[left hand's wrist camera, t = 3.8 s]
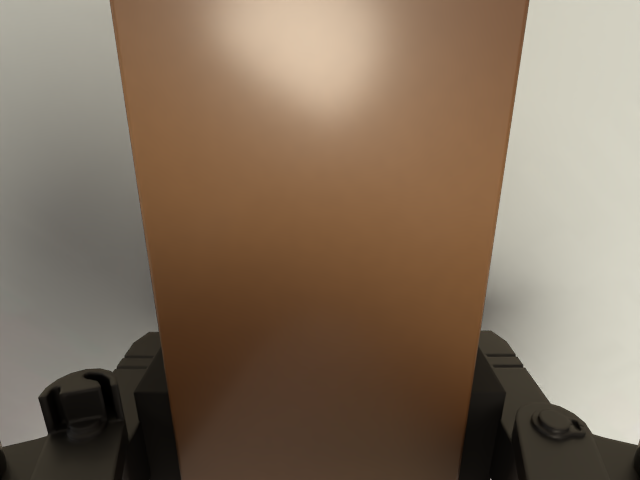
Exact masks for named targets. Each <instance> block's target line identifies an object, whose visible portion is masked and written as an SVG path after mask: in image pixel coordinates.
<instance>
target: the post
mask: <svg viewBox="0 0 640 480" xmlns="http://www.w3.org/2000/svg"><path fill="white" fill-rule="evenodd" d="M110 6H111V13H112V19H113V26H114V33H115V39H116V46H117V53H118V59H119V66H120V73H121V80H122V86H123V93H124V100H125V106H126V113H127V120H128V126H129V133H130V140H131V147H132V153H133V160H134V167H135V173H136V180H137V187H138V193H139V200H140V207H141V214H142V220H143V227H144V234H145V240H146V247H147V254H148V260H149V267H150V274H151V281H152V287H153V294H154V301H155V307H156V314H157V321H158V327H159V334H160V341H161V348H162V354H163V361H164V368H165V374H166V381H167V388H168V395H169V401H170V408H171V415H172V421H173V428H174V435H175V441H176V448H177V455H178V462H179V468H180V475H181V480H458V478H459V471H460V465H461V458H462V451H463V444H464V438H465V431H466V424H467V417H468V411H469V404H470V397H471V390H472V384H473V377H474V370H475V363H476V357H477V350H478V343H479V337H480V330H481V323H482V316H483V310H484V303H485V296H486V289H487V283H488V276H489V269H490V262H491V256H492V249H493V242H494V235H495V229H496V222H497V215H498V208H499V202H500V195H501V188H502V182H503V175H504V168H505V161H506V155H507V148H508V141H509V134H510V128H511V121H512V114H513V107H514V101H515V94H516V87H517V80H518V74H519V67H520V60H521V53H522V47H523V40H524V33H525V26H526V20H527V13H528V6H529V0H110Z"/></svg>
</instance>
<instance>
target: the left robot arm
mask: <svg viewBox="0 0 640 480" xmlns="http://www.w3.org/2000/svg"><path fill="white" fill-rule="evenodd" d="M515 355H516V354H515V353H514V352H513V350H512V349H511V347H510V346H509V344H508V343H507V342H506V341H505V340H503V339H502V338H501V337H499V336H498V335H496V334H495V333H494V332H492V331H480V337H479V343H478V350H477V357H476V363H475V370H474V377H473V384H472V390H471V397H470V404H469V411H468V417H467V424H466V431H465V438H464V444H463V451H462V458H461V465H460V471H459V478H458V480H490V479H491V480H640V441H639V444H638V445H634V444H630V443H626V442H621V441H617V440H612V439H608V438H604V437H600V436H597V435H594V434H592V433H591V431H590V430H589V428H588V427H587V425H586V423H585V422H583V421H582V420H581V419H580V418H579V417H577V416H576V415H575V414H574V413H572V412H570V411H568V410H566V409H564V408H562V407H560V406H557V405H553V404H550V402H549V401H548V399H547V398H546V397H545V395H544V394H543V392H542V391H541V389H540V388H539V387H538V385H537V384H536V382H535V381H534V380H533V378H532V377H531V375H530V374H529V373H528V371H527V370H526V368H523V364H522V363H521V361H520V360H519V359H518V357H516V356H515ZM38 398H39V402H40V406H41V409H42V413H43V416H44V420H45V424H46V427H47V431H48V436H46V437H42V438H39V439H35V440H31V441H27V442H22V443H18V444H14V445H9V446H5V447H2V445H1V442H0V480H181V475H180V468H179V462H178V455H177V448H176V441H175V435H174V428H173V421H172V415H171V408H170V401H169V395H168V388H167V381H166V374H165V368H164V361H163V354H162V348H161V341H160V334H159V332H148V333H147V334H146V335H144V336H143V337H141V338H140V339H139V340H137V341H136V342H134V343H133V344H132V346H131V347H130V349H129V350H128V352H127V353H126V354H125V357H124V358H123V359H122V360H121V361H120V363H119V364H118V366H117V369H115V370H114V371H113V373H112V372H111V371H108V370H104V369H85V370H81V371H77V372H74V373H71V374H68V375H66V376H64V377H62V378H60V379H57V380H56V381H55V382H53V383H52V384H51V385H49V386H48V387H46V388H45V390H44V391H43V392H42V393H41V395H40V396H39V397H38Z"/></svg>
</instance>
